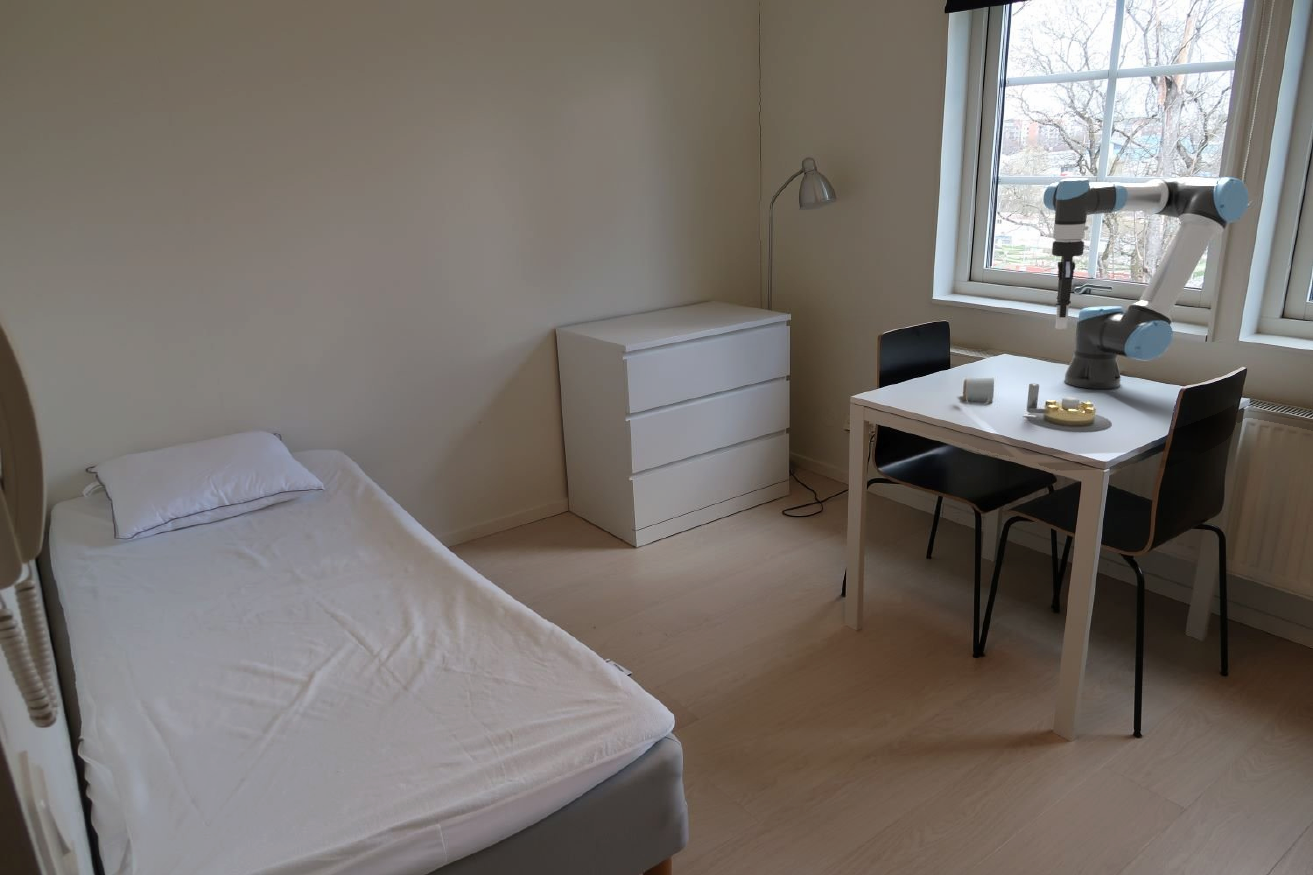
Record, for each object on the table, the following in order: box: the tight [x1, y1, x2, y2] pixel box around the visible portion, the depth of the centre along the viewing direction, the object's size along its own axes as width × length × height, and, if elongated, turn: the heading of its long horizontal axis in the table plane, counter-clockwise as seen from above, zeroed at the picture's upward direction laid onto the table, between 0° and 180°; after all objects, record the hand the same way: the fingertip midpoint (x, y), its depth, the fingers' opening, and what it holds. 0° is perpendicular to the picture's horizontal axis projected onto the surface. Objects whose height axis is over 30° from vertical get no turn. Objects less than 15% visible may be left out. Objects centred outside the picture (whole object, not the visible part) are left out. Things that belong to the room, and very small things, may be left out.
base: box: [1022, 396, 1113, 433], centre depth 224 cm, size 20×20×7 cm
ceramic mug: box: [962, 377, 995, 406], centre depth 245 cm, size 11×8×8 cm
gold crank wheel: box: [1026, 383, 1097, 426], centre depth 224 cm, size 16×12×9 cm
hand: (1060, 328), depth 237 cm, fingers closed
